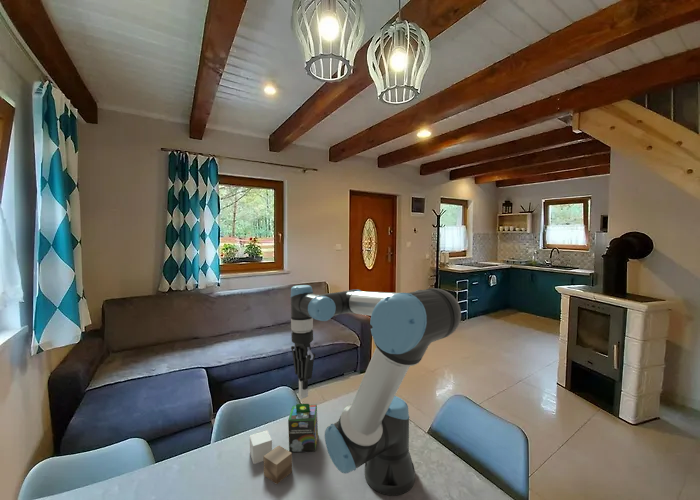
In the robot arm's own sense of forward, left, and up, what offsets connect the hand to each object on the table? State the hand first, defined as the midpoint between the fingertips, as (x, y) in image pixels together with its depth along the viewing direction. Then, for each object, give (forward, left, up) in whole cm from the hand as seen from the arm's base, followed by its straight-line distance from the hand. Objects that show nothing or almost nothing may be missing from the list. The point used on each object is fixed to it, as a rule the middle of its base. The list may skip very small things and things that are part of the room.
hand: (303, 396), depth 104 cm
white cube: (+4, +14, -17) cm, 22 cm away
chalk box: (0, 0, -17) cm, 17 cm away
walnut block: (-7, +13, -17) cm, 22 cm away
